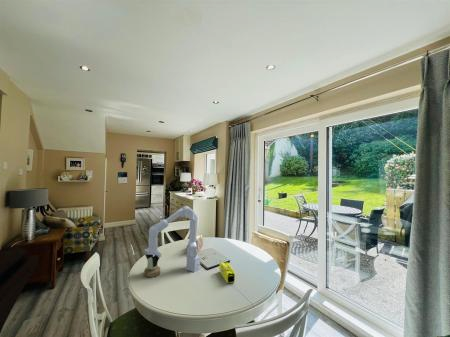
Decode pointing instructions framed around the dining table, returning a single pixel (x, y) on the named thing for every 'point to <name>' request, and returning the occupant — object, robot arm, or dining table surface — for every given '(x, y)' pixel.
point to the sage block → (151, 264)
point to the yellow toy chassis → (227, 272)
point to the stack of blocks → (199, 242)
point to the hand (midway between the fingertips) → (152, 265)
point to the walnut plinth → (151, 272)
